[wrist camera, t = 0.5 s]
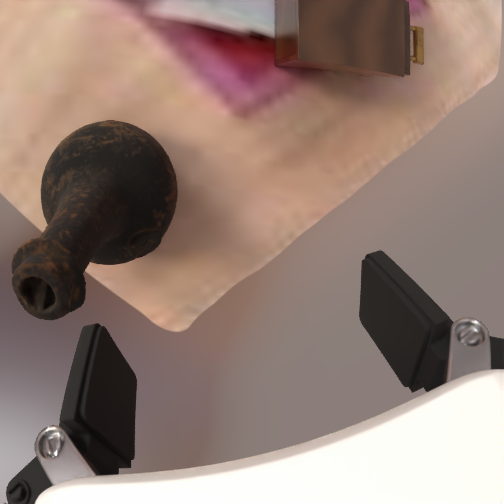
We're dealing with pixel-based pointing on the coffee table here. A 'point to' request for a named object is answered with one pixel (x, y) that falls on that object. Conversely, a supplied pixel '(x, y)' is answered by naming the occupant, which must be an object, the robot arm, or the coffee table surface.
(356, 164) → the coffee table surface
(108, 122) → the black vase
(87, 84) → the coffee table surface
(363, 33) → the cabinet
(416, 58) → the drawer
